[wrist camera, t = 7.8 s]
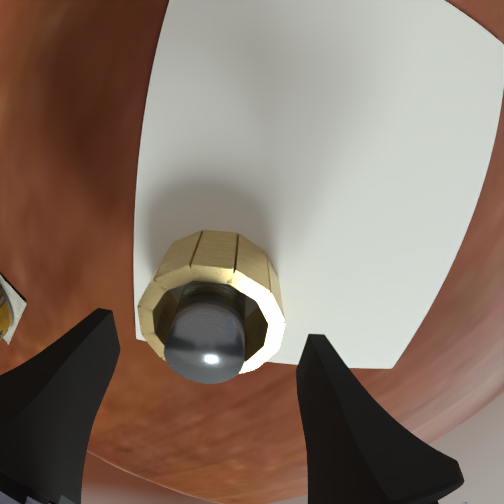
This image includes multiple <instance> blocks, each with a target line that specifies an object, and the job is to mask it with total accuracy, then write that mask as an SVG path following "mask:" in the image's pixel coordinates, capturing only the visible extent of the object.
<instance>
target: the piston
mask: <svg viewBox="0 0 504 504" xmlns="http://www.w3.org/2000/svg"><path fill="white" fill-rule="evenodd" d="M245 300H246V294H244V293H242V292H241V291H239V290H238V289H236V288H234V287H233V286H231V285H229V284H223V283H213V282H204V281H195V280H194V281H191V282H189V283H186V284H185V285H184V288H183V291H182V294H181V297H180V300H179V303H178V306H177V309H176V312H175V315H174V318H173V321H172V325H171V328H170V331H169V334H168V337H167V341H166V344H165V347H164V357H165V360H166V362H167V364H168V365H169V366H170V367H171V369H172V370H174V371H175V372H176V373H177V374H179V375H180V376H182V377H184V378H186V379H189V380H191V381H195V382H199V383H208V384H212V383H221V382H225V381H228V380H230V379H232V378H234V377H235V376H237V375H238V374H239V373H240V371H241V370H242V368H243V366H244V345H245Z"/></svg>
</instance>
